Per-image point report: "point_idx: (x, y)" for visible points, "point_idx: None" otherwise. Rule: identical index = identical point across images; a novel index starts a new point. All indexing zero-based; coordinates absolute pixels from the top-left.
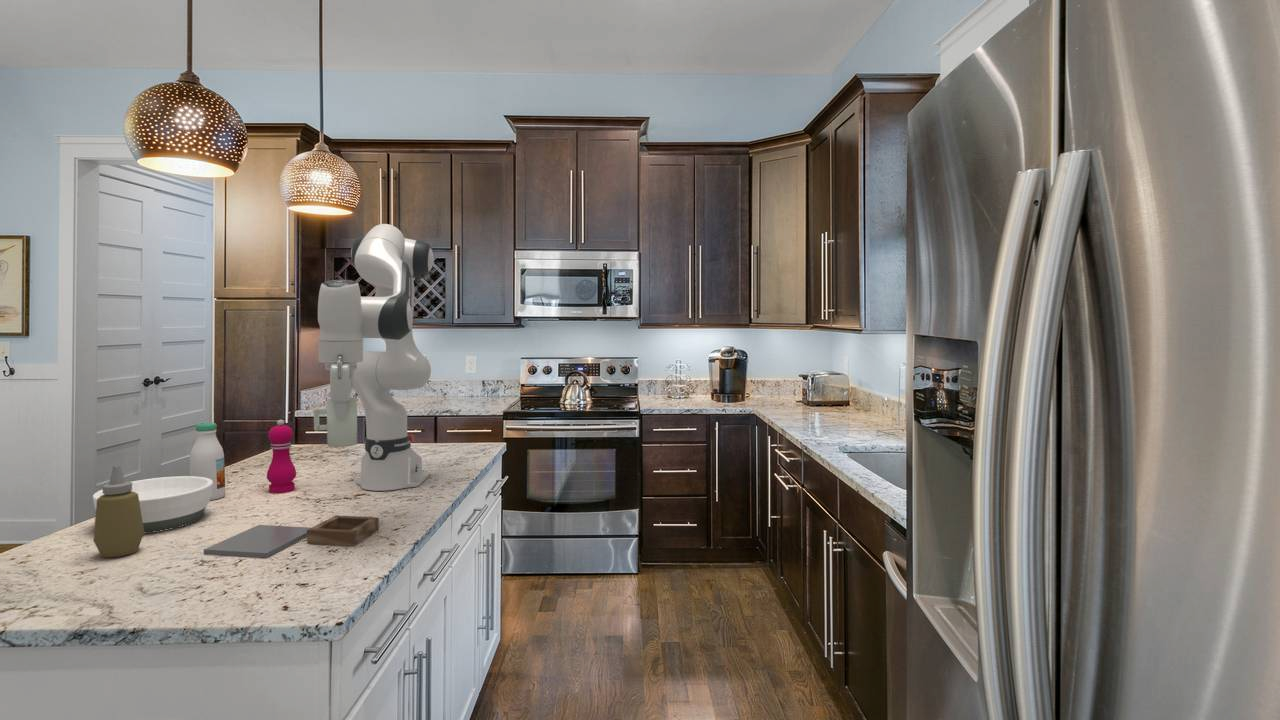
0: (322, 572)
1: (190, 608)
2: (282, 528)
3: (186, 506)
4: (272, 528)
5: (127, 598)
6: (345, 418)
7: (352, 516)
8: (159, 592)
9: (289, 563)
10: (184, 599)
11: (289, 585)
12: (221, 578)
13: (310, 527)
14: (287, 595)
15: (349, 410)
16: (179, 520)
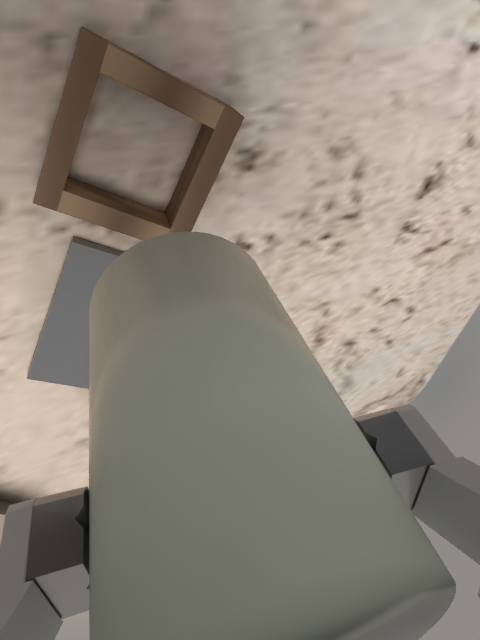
0: (385, 159)
1: (426, 322)
2: (68, 321)
3: (1, 530)
4: (65, 342)
5: (347, 403)
6: (410, 406)
7: (52, 141)
8: (345, 380)
9: (299, 240)
10: (389, 341)
11: (419, 210)
12: (327, 327)
13: (68, 257)
14: (462, 202)
15: (375, 456)
16: (6, 510)
